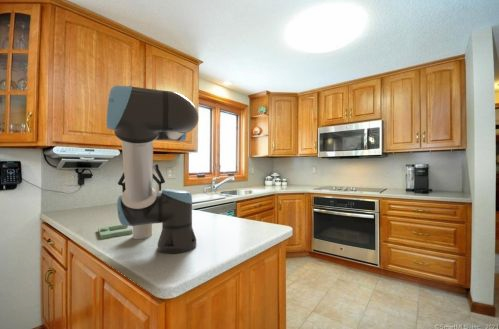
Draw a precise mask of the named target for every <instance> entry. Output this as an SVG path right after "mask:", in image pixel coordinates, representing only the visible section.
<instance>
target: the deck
mask: <svg viewBox="0 0 499 329" xmlns="http://www.w3.org/2000/svg"><path fill="white" fill-rule="evenodd" d="M128 227H129V226H123V225H122V224H115V225H109V226H108V225H107V226H100V227H98V229H97V231H98V234H99V237H100V240H104V239H109V238H110V239H111V238H114V237H120V236H125V235H133V228H132V229H128ZM122 229H126V230H122ZM114 230H115V231H114ZM116 230H117V231H116ZM118 230H120V231H118ZM111 231H112V232H111Z"/></svg>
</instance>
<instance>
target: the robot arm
mask: <svg viewBox="0 0 499 329" xmlns="http://www.w3.org/2000/svg"><path fill="white" fill-rule="evenodd" d="M107 100H108V101H107V107H106V128H107V129H108V130H111V131H114V136H115V137H116V138H117V140H119V141H121V150H122V160H123V161H122V164H123V173H122V175H121V176H120V178H119V179H118V182H117V185H119V186H121V187H122V190H121V192H122V194H121V195H119V196H118V197H117V204H116V209H117V217H118V220H119V222H120V225H123V226H128V227H133V226H136V225H145V224H152V225H153V224H161V227H162V228H161V231H160V232H161V233H160V235H159V239H158V242H157V250H158V252H160V253H163V254H179V253H180V254H181V253H185V252H188V251H191V250H193V249H195V248H196V247H197V238H196V235H195V231H194V228H193V195H192V193H191V192H190V191H187V190H181V189H171V188H164V189H162V184H165V183H166V180H165V179H164V177H163V174H162V172H161V171H160V169H159V168H160V167H159V164H157V163H156V164H154V163H153V162H154V161H153V160H154V157H153V156H154V141H171V142H173V141H174V142H184V141H185V140H186V138H187V134H188V133H189V132H191V131H193V130H194V129H195V128H196V126H197V125H198V123H199V112H198V110H197V107H196V106H195V105H194V103H193V102H192V101H191V100H189V99H188V98H187V97H185V96H184V95H183V94H181V93H178V92H175V91H171V90H162V89H153V88H147V87H145V88H144V87H140V86H138V87H137V86H132V85H119V84H117V85H114V86H112V87H111V88H110V90H109V95H108V99H107ZM153 170H155V173H156V174H157V176H156V175H155V173H153V172H154V171H153ZM153 180H154V181H155V183H156V184H155V189H154V188H153ZM160 191H161V192H160Z"/></svg>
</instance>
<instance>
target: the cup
mask: <svg viewBox="0 0 499 329" xmlns="http://www.w3.org/2000/svg"><path fill="white" fill-rule="evenodd" d="M132 230H133V234H132V239H135V240H143V239H144V240H145V239H147V238H151V237H152V236H153V224H145V225H136V226H132Z"/></svg>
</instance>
